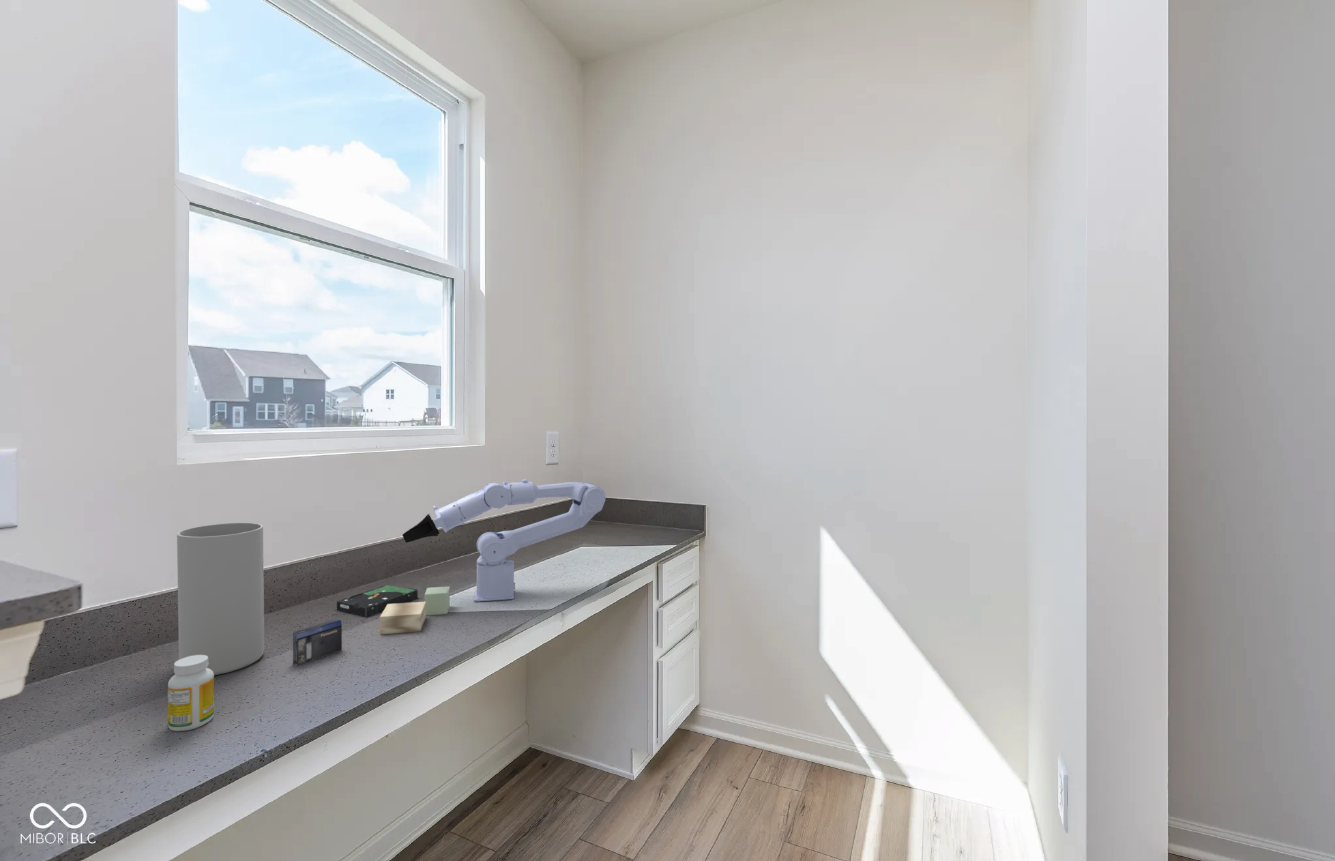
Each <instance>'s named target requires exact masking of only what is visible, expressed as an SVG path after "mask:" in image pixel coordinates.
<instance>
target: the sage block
mask: <svg viewBox="0 0 1335 861" xmlns="http://www.w3.org/2000/svg"><path fill="white" fill-rule="evenodd" d="M450 589H451V587H450V586H433V587H427V588H426V590H425V593H424V600H423V602H426V616H435V615H448V613H449V609H450V606H451V605H450V603H451V602H450V599H451V597H450V596H451V594H450V591H451V590H450Z"/></svg>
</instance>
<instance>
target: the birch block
mask: <svg viewBox="0 0 1335 861" xmlns="http://www.w3.org/2000/svg"><path fill="white" fill-rule="evenodd" d="M426 619H427V615H426V602H424V601H418V602H417V601H416V602H406V603H397V604H387V606H386V608H385V609H384V611H382V613H381V614H380V616H379V635H387V634H388V635H389V634H398V633H413V632H414V633H415V632H421V631H422V628H423V626H424V624H425V621H426Z"/></svg>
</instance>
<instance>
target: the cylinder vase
mask: <svg viewBox="0 0 1335 861" xmlns="http://www.w3.org/2000/svg"><path fill="white" fill-rule="evenodd" d="M176 545H177V546H176V548H177V549H176V553H177V554H176V555H177V556H176V558H177V562H176V563H177V616H178V618H177V619H178V621H177V622H178V624H177V625H178V628H177V629H178V631H177V632H178V660H180V659H182V658H185V657H188V656H194V655H206V656H208V663H209V664H208V666H207V668H209V669H211V670H212V671H213V673H214V676H217V675H223V674H228V673H231V672H234V671H238V670H241V669H243V668H246V667H248V666H250V665H252V664H254V663H255V662H257V661H259V660H260V659H261V657H262V656H263V655H264V652H265V594H264V593H265V591H264V584H265V582H264V525H263V524H261V523H258V522H228V523H217V524H206V525H201V526H195V527H194V526H193V527H190V528H186V529H183V530H182V529H181V530H180V531H178V532H176Z"/></svg>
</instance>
